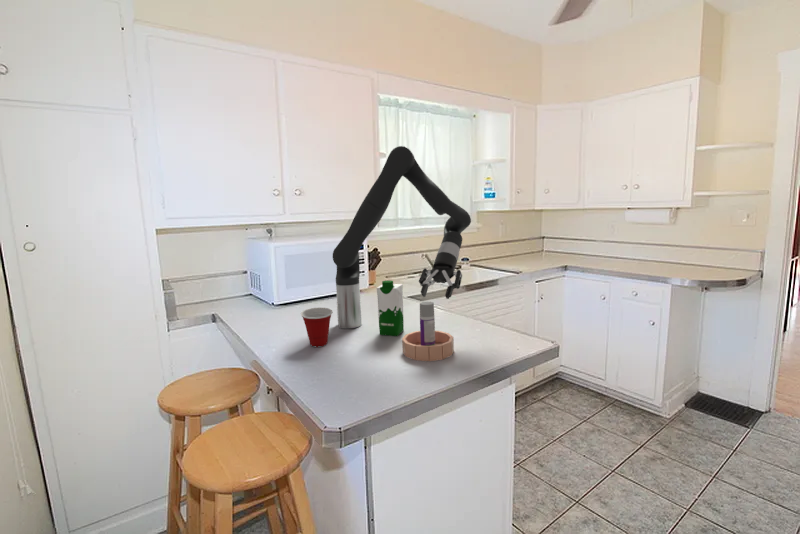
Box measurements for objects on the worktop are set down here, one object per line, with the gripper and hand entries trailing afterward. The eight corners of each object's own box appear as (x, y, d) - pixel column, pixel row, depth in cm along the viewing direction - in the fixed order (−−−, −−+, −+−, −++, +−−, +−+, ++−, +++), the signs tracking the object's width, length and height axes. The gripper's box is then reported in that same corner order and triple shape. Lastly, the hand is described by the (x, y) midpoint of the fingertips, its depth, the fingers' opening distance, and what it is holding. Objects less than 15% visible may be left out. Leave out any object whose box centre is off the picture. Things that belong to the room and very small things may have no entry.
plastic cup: (307, 352, 133) (305, 317, 132) (299, 343, 143) (297, 310, 141) (338, 346, 138) (336, 312, 137) (329, 337, 148) (327, 305, 146)
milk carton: (376, 335, 148) (373, 282, 145) (385, 328, 156) (383, 277, 153) (399, 337, 145) (396, 283, 142) (406, 329, 153) (404, 278, 150)
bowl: (410, 363, 120) (410, 349, 120) (398, 346, 136) (397, 333, 135) (460, 357, 124) (460, 343, 123) (443, 340, 139) (443, 328, 139)
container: (420, 346, 132) (418, 301, 130) (434, 345, 132) (432, 300, 130) (421, 351, 127) (420, 305, 125) (436, 350, 128) (435, 304, 125)
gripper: (425, 250, 142) (411, 288, 134) (463, 251, 136) (452, 291, 127) (431, 263, 148) (419, 300, 140) (468, 264, 141) (458, 304, 133)
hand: (434, 296), depth 133 cm, fingers open, 8 cm apart
